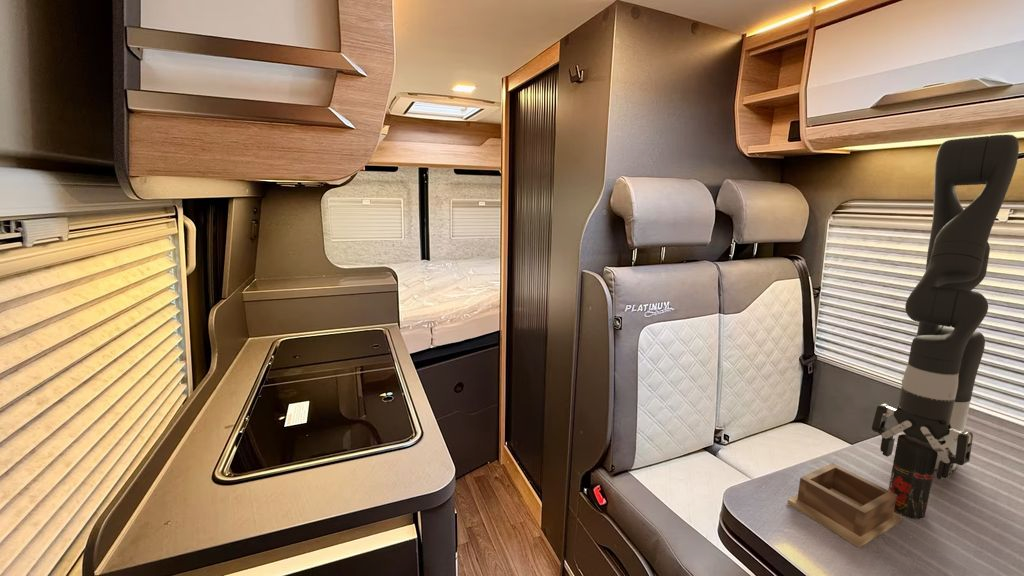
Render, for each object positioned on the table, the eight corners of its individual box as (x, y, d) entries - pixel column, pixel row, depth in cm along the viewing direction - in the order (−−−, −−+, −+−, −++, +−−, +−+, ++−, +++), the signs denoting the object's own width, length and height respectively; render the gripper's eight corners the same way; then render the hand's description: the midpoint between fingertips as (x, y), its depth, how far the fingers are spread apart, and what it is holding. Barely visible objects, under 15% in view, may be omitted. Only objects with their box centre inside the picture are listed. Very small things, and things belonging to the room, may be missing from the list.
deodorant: (932, 521, 84) (947, 452, 81) (897, 516, 85) (911, 448, 82) (911, 500, 90) (925, 435, 87) (879, 497, 91) (891, 432, 88)
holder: (829, 483, 96) (833, 458, 94) (901, 521, 84) (906, 494, 83) (787, 503, 89) (790, 477, 88) (859, 547, 78) (864, 519, 77)
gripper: (988, 401, 78) (970, 481, 81) (893, 373, 90) (880, 444, 94) (970, 409, 75) (951, 492, 78) (873, 379, 87) (861, 452, 90)
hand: (912, 465), depth 86 cm, fingers open, 8 cm apart
